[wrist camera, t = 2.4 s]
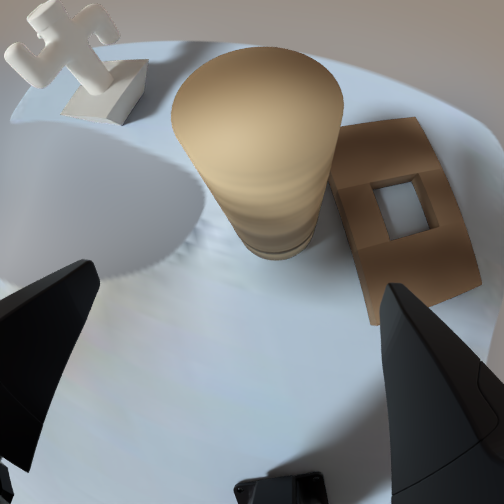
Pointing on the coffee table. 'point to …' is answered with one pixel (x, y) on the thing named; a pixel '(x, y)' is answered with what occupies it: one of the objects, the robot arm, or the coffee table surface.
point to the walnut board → (372, 224)
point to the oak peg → (262, 142)
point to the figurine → (81, 62)
